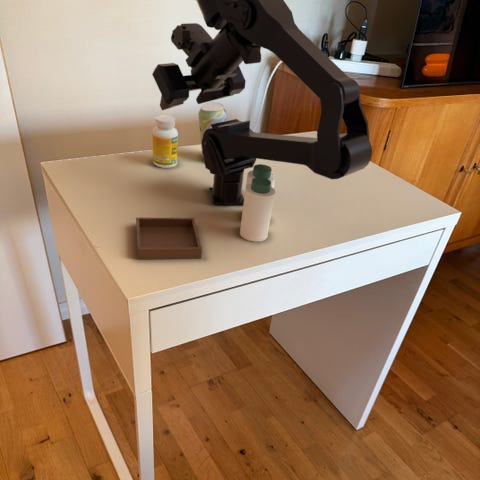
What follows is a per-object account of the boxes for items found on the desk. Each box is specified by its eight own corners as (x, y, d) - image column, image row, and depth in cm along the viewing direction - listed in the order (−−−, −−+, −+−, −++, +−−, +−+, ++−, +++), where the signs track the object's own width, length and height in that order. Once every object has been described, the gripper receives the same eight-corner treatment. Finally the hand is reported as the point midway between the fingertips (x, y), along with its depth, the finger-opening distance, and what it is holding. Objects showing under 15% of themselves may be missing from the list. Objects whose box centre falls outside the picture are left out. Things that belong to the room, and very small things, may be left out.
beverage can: (232, 163, 105) (238, 108, 97) (204, 166, 101) (208, 110, 93) (219, 152, 108) (223, 99, 101) (191, 156, 105) (194, 100, 97)
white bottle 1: (239, 212, 87) (245, 161, 81) (264, 212, 88) (272, 162, 82) (244, 225, 83) (251, 173, 77) (270, 225, 85) (280, 174, 78)
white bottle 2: (237, 227, 83) (243, 174, 76) (263, 227, 84) (272, 175, 77) (242, 241, 79) (250, 188, 73) (270, 241, 80) (280, 188, 74)
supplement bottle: (156, 157, 102) (155, 112, 96) (179, 160, 102) (180, 116, 96) (150, 166, 98) (149, 120, 92) (174, 170, 98) (175, 124, 92)
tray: (136, 227, 79) (135, 217, 77) (193, 227, 81) (194, 217, 80) (138, 259, 71) (137, 249, 70) (201, 258, 74) (201, 248, 72)
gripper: (241, 7, 81) (197, 61, 94) (158, 8, 70) (121, 69, 83) (267, 67, 83) (220, 112, 95) (190, 77, 72) (148, 127, 84)
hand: (180, 104), depth 89 cm, fingers open, 9 cm apart
